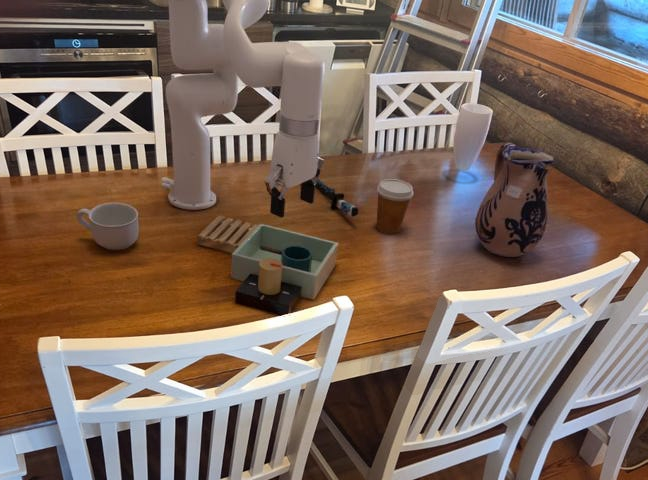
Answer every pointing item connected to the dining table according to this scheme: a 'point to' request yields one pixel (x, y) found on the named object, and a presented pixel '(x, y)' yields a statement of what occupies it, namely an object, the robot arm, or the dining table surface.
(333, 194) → the knife
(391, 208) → the disposable coffee cup
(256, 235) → the pale green open box
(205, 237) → the rack
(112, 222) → the teacup
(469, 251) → the dining table surface
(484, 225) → the ceramic pitcher
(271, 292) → the tap knob
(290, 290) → the black dial base
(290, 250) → the pan
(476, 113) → the white vase
